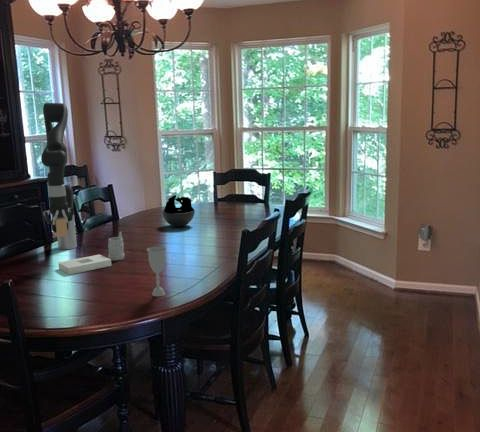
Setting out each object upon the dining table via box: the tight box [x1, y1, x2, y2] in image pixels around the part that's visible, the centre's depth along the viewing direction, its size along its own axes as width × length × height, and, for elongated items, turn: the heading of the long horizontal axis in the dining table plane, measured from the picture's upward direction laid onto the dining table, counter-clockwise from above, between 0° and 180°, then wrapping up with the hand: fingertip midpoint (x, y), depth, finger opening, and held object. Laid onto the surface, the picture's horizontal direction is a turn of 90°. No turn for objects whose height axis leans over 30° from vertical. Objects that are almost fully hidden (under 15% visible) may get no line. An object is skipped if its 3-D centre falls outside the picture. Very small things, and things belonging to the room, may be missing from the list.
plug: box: [53, 217, 67, 237], centre depth 236 cm, size 5×5×9 cm
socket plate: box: [57, 254, 112, 275], centre depth 235 cm, size 12×20×3 cm, turn 130°
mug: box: [107, 231, 126, 262], centre depth 249 cm, size 8×12×12 cm, turn 169°
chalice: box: [146, 246, 167, 297], centre depth 196 cm, size 7×7×18 cm
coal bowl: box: [161, 194, 196, 228], centre depth 316 cm, size 20×20×19 cm
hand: (60, 231), depth 236 cm, fingers closed on plug, 4 cm apart
